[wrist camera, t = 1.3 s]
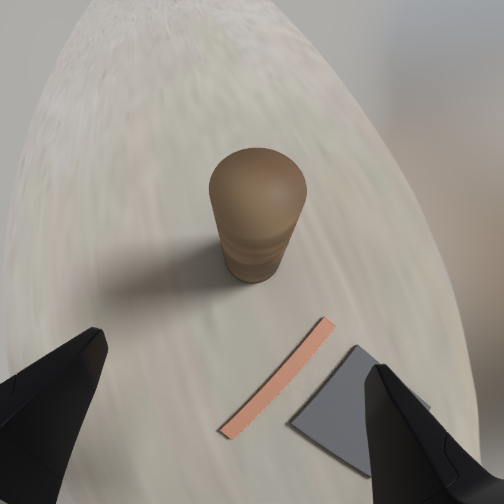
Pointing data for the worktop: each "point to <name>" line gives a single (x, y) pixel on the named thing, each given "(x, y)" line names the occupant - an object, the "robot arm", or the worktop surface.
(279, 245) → the pin
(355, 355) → the mat
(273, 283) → the worktop surface
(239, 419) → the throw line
